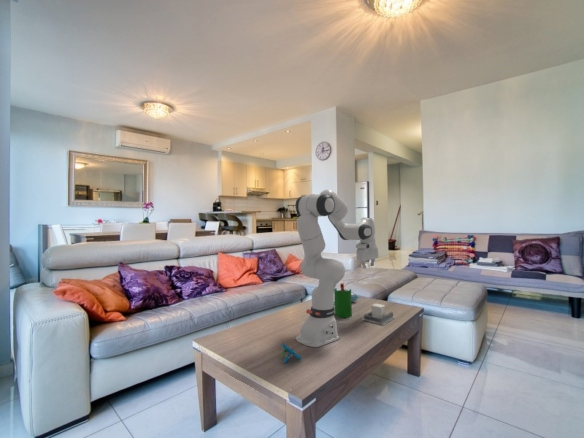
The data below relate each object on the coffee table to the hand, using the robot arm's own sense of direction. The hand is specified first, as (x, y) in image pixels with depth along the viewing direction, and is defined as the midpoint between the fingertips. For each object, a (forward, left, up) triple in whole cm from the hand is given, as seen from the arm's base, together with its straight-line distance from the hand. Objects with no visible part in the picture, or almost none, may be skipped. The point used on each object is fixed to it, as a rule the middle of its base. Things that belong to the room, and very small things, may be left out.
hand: (368, 267), depth 167 cm
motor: (-10, +12, -29) cm, 33 cm away
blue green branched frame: (-69, -1, -29) cm, 75 cm away
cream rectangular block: (-2, -7, -28) cm, 29 cm away
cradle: (-2, -7, -29) cm, 30 cm away
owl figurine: (+16, +27, -30) cm, 43 cm away
